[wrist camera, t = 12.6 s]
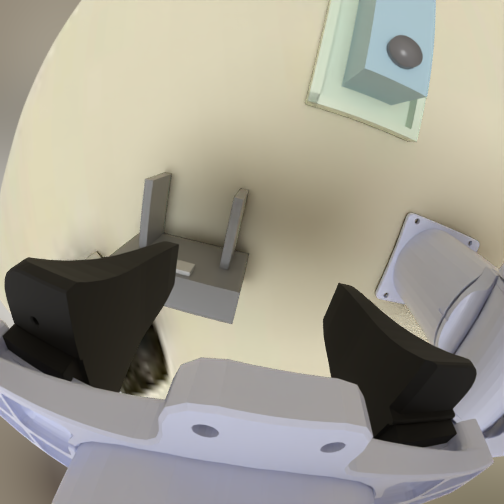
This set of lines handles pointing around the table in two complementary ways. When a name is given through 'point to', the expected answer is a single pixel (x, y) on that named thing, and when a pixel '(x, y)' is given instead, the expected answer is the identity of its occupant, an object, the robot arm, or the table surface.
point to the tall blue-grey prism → (392, 50)
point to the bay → (195, 257)
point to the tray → (346, 100)
